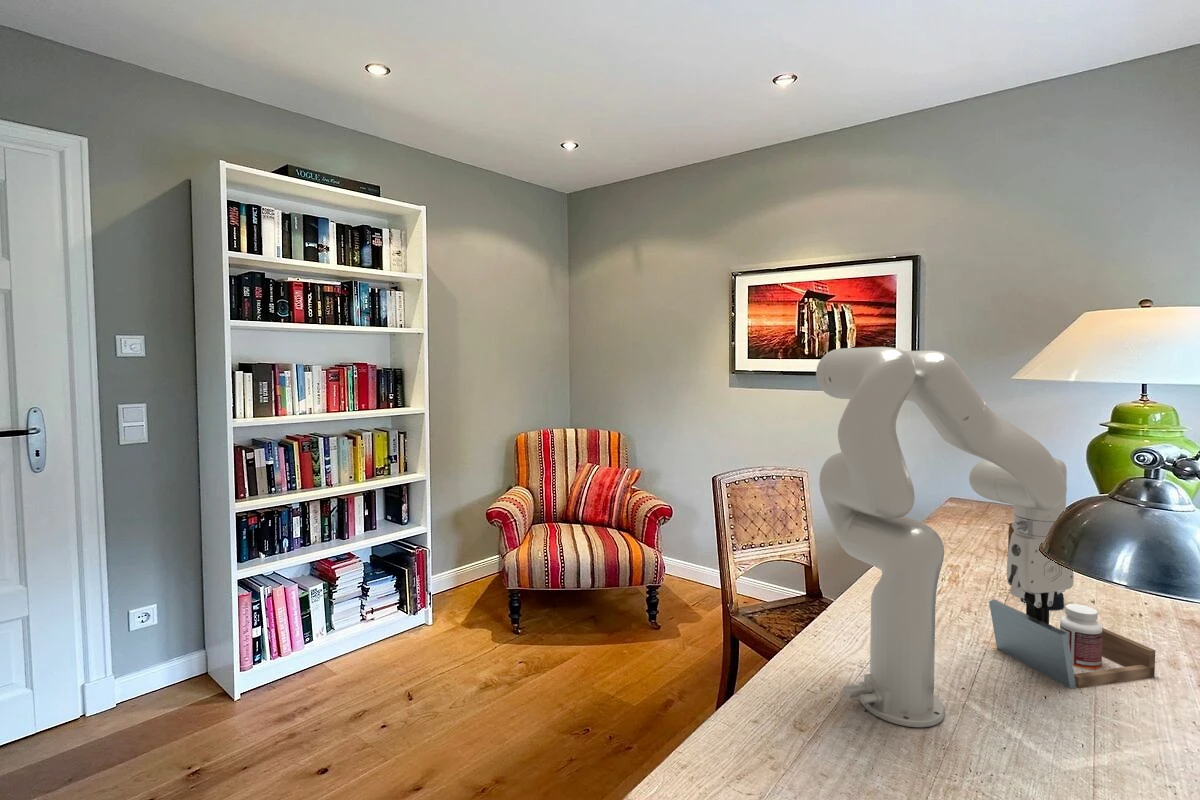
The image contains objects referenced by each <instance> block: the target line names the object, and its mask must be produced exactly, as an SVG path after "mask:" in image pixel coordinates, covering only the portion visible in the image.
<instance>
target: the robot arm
mask: <svg viewBox="0 0 1200 800" xmlns="http://www.w3.org/2000/svg"><path fill="white" fill-rule="evenodd" d="M815 378H816V381H817V385H818V386H819V387H820V389H821V390H822V391H823V392H824V393H825V394H826V395H827V396H830V397H831V398H834V399H841V400H849V401H848V403H847V405H846V407H845V409H844V411H843V413H842V416H841V418H840V420H839V423H838V427H837V439H838V445H839V449H840V451H841V452H838V453H835V454H833V455H831V456H830V457H828V458H827V460H826V461H825V462H824V463H823V465H822V468H821V469H820V473H819V480H818V481H819V483H818V485H819V486H818V487H819V492H820V496H821V498H822V501H823V504H824V506H825V507H824V508H825V509H826V513H827V514H828V518H829V520H830V523H831V526H832V528H833V531H834V534H835V536H836V539H837V540H838V543H839V545H840V546H841V548H842V550H844V551H845V553H847V554H848V555H849V556H850V557H852V558H855V559H856V560H859V561H861V562H863V563H865V564H868V565H870V566H872V567H875V568H877V569H879V570H880V571H881V577H880V578H879V580H878V582H877V583H876V584H875V586H874V587H873V589H872V592H871V597H870V640H869V641H870V642H869V644H870V647H869V648H870V649H869V652H870V657H869V666H870V667H869V673H867V674H864V675H863V681H860V682H859V683H858V684H848V685H843V687H842V689H843V690H842V692H843V695H844V696H845V698H847V699H855V698H859V700H860V703H861V704H862V705H863V707H864V708H865V710H867V711H868V712H870V713H871V714H872V715H874V716H875V717H877V718H880V719H882V720H884V721H886V722H889V723H892V724H895V725H898V726H899V725H900V726H903V727H907V728H908V727H909V728H911V727H912V728H927V727H933V726H936V725H938V724H939V723H941V722H942V721H943V720H944V718H945V706H944V704H943V702H942V701H941V700H940V698H938V697H937V696H936V695H935V662H936V661H935V659H936V658H935V656H936V655H935V653H936V651H935V650H936V648H935V647H936V608H937V607H936V603H937V589H938V584H939V583H938V582H939V579H940V574H941V570H942V566H943V563H944V557H945V547H944V542H943V540H942V538H941V537H940V535H939V533H938V532H937V531H936V530H935V529H933V528H932V527H931V526H929V525H927V524H926V523H924V522H922V521H919V520H917V519H915V518H912V517H907V514H909V513H910V512H911V510H912V509H913V508H914V505H915V500H916V499H915V498H916V496H915V495H916V494H915V489H914V485H913V482H912V478H911V475H910V472H909V469H908V466H907V463H906V460H905V457H904V454H903V451H902V449H901V446H900V442H899V439H898V435H897V419H898V416H899V413H900V410H901V408H902V406H903V404H904V402H905V401H910V402H913V403H915V404H916V406H917V407H918V408H919V409H920V410H921V412H922V413H923V414H924V415H925V417H926V418H927V419H928V421H929V422H930V423H931V425H932V426H933V428H935V430H936V431H937V433H938V434H939V435H940V437H941V438H942V439H943V440H944V441H945V442H946V443H948V444H950V445H951V446H953V447H956V448H957V449H959V450H961V451H963V452H965V453H966V454H967V453H968V454H969V455H972V456H976V457H978V458H980V459H982V460H981V461H979V462H977V463H975V465H973V467H972V469H971V470H970V472H969V477H968V479H969V480H968V481H969V484H970V488H971V489H972V490H973V491H974V492H975V493H976V494H977V495H978V496H980V497H982V498H984V499H987V500H990V501H994V502H999V503H1003V504H1009V505H1014V507H1013V508H1014V509H1013V513H1014V514H1013V522H1011V523H1012V528H1013V529H1014V532H1013V533H1012V536H1011V540H1010V544H1009V550H1008V549H1007V560H1006V579H1007V583H1008V585H1009V586H1011V587H1010V590H1009V594H1010V595H1011V596H1012V597H1013V596H1014V597H1016V598H1018V599H1021V598H1022V599H1023V601H1024V602H1026V604H1025V614H1027V615H1029V616H1031V617H1034V618H1036V619H1038V620H1040V621H1042V622H1045V623H1047V624H1049V625H1050V610H1049V607H1050V606H1052V604H1053V599H1054V597H1055V596H1056V595H1057V594H1059V593H1064V592H1066V591H1067V590H1071V588H1072V587H1074V577H1075V575H1074V570H1073V571H1071V570H1069V569H1066V568H1064V567H1062V566H1060V565H1058V564H1057V563H1055V562H1054V561H1052V560H1050V559H1048V558H1047V557H1045V556H1044V555H1043V554H1042V553H1041V552H1040V551H1039V546H1040V544H1041V543H1043V542H1044V540H1045V539H1046V536H1047V534H1048V532H1049V530H1050V528H1051V526H1052V525H1053V523H1054V522H1055V521H1056V520H1057V518H1058V517H1059V515H1060V514H1061V513H1062V512H1063V511H1065V510H1066V511H1067V491H1068V488H1067V477H1068V476H1067V474H1068V473H1067V466H1066V464H1065V462H1064V461H1063V460H1061V459H1058V458H1054V456H1053V455H1052V454H1051V453H1050V451H1049V450H1048V449H1047V448H1046V446H1044V445H1043V444H1042V443H1041V442H1040V441H1039V440H1037V439H1036V438H1034V436H1031V435H1030V434H1029V433H1027V432H1025V431H1024V430H1023V429H1021V428H1019V427H1018V426H1016V425H1015V424H1013V423H1012V422H1010V421H1009V420H1008V419H1005V418H1003V417H1001V416H1000V415H998V414H997V413H995V412H993V410H992V409H991V407H989V405H988V404H987V402H986V401H985V400H984V398H983V397H982V396H981V394H979V393H980V392H978V390H977V388H975V386H974V385H973V383H972V382H971V380H970V379H969V377H968V376H967V375H966V373H965V372H964V370H962V368H961V366H960V365H959V364H958V363H957V361H956V360H955V359H954V358H953V357H952V356H951V355H949V354H948V353H946V352H943V351H939V350H902V349H900V348H896V347H888V346H868V347H848V348H847V347H845V348H843V347H842V348H836V349H832V350H830V351H828V352H827V353H826V354H823V356H822V357H821V359H819V361H818V364H817V366H816V371H815Z"/></svg>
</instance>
